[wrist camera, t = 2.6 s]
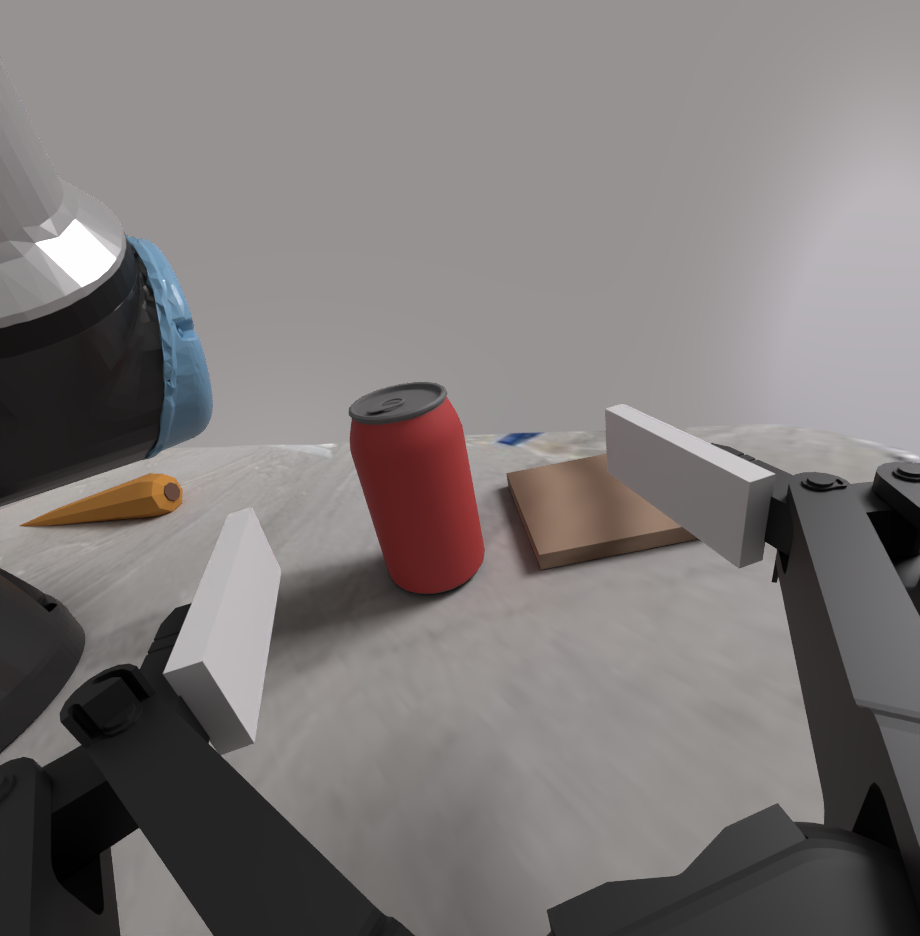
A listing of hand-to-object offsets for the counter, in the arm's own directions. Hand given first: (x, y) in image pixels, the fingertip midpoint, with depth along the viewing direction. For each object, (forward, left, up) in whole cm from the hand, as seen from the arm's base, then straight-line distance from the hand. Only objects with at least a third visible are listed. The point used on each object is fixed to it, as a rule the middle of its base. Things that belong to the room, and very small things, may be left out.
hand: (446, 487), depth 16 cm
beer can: (-2, +10, -12) cm, 16 cm away
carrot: (-37, +29, -12) cm, 49 cm away
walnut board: (+10, +13, -11) cm, 20 cm away
